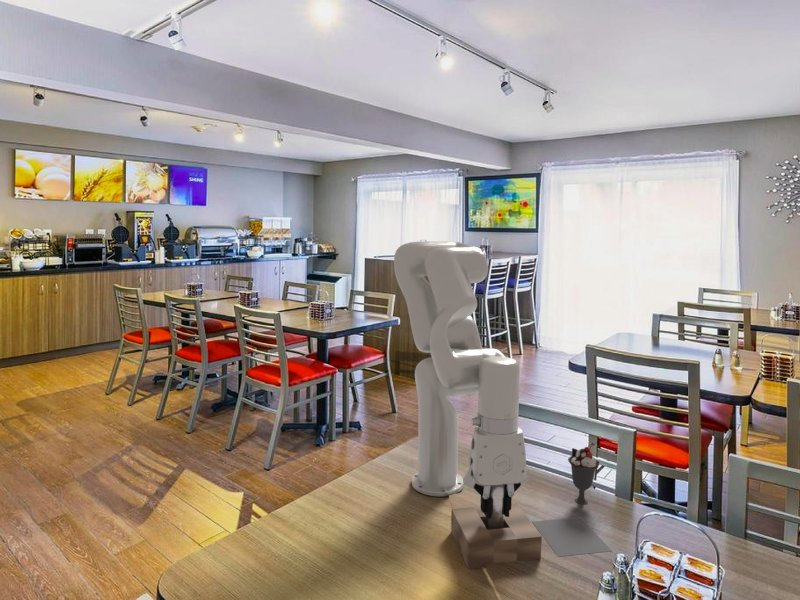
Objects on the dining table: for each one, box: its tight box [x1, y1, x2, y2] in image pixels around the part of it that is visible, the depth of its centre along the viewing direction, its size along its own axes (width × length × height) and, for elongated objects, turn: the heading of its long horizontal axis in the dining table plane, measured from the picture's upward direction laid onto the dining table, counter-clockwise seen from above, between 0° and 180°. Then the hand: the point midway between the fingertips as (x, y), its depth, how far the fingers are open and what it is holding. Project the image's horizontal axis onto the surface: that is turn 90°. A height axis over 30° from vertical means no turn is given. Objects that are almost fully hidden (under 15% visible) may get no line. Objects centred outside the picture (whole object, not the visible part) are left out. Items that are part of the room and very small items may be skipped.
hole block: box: [450, 503, 543, 570], centre depth 102 cm, size 12×14×5 cm
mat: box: [531, 516, 613, 558], centre depth 105 cm, size 12×11×1 cm
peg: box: [488, 485, 505, 530], centre depth 101 cm, size 3×3×10 cm
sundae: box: [567, 442, 600, 506], centre depth 117 cm, size 7×7×15 cm
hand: (495, 513), depth 101 cm, fingers closed on peg, 3 cm apart
